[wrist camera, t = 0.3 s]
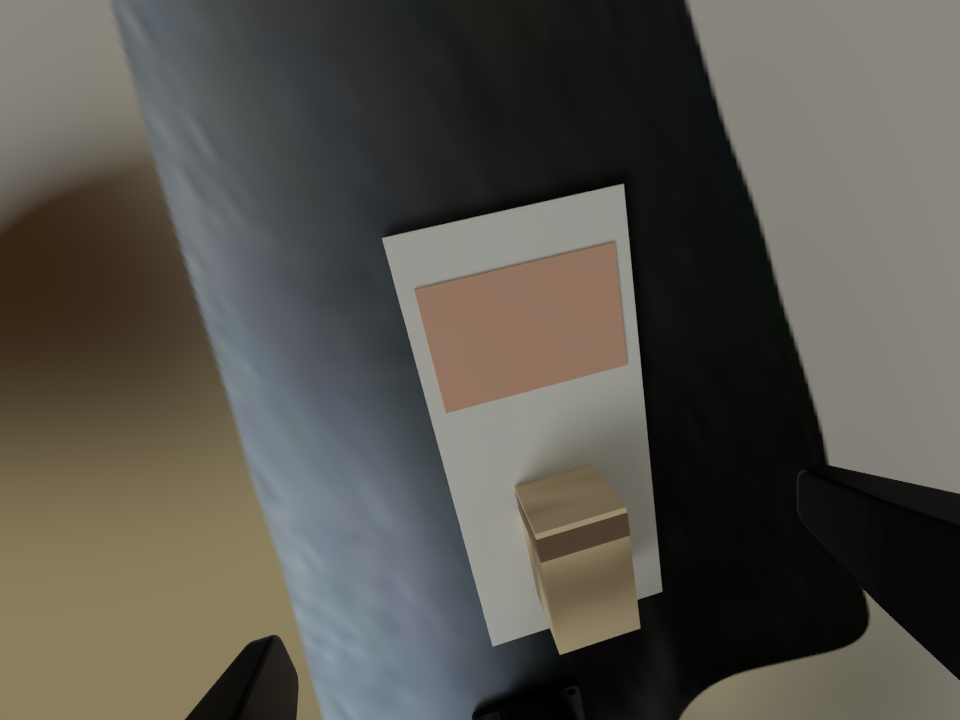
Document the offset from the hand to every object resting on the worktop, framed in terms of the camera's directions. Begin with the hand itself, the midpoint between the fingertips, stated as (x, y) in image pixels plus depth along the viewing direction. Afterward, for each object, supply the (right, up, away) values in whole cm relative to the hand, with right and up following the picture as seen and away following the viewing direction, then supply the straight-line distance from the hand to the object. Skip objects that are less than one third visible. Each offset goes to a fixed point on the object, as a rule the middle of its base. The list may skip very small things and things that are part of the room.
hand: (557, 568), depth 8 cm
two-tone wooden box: (+3, -5, +16) cm, 17 cm away
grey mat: (+2, -1, +15) cm, 15 cm away
